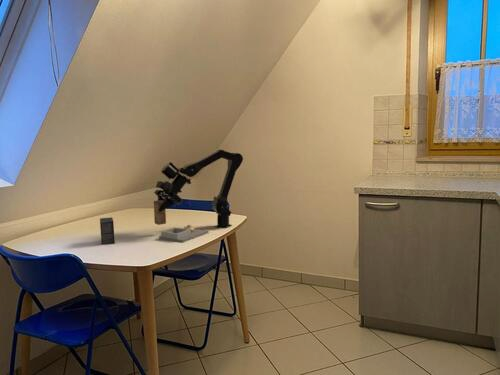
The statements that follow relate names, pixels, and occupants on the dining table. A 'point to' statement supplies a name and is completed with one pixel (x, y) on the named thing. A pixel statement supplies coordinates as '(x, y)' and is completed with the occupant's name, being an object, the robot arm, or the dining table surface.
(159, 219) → the wooden block
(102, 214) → the dining table surface
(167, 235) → the housing
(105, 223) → the box
